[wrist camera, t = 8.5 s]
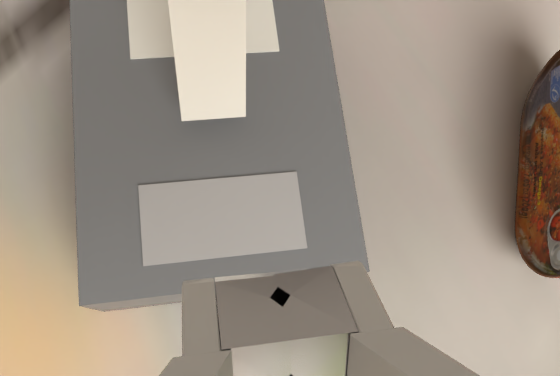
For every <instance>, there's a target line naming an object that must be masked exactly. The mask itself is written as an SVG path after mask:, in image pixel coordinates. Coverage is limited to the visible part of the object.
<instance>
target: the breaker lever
mask: <svg viewBox="0 0 560 376" xmlns="http://www.w3.org/2000/svg"><path fill="white" fill-rule="evenodd" d="M168 5H169V14H170V23H171V32H172V41H173V49H174V58H175V67H176V76H177V85H178V94H179V103H180V112H181V121H192V120H207V119H221V118H235V117H246V0H168Z"/></svg>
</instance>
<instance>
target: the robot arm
mask: <svg viewBox="0 0 560 376" xmlns="http://www.w3.org/2000/svg"><path fill="white" fill-rule="evenodd" d="M214 278H215V285H214V279H213V278H207V279H197V280H186V281H183V284H182V356H181V357H174V358H172V359H171V361H170V362H169V363H168V365H167V366H166V367H165V369H164V370H163V371H162V372H161V374H160V375H159V376H479V375H478V374H476V373H475V372H473V371H472V370H470V369H468V368H467V367H465V366H464V365H462V364H461V363H459V362H457V361H456V360H454V359H453V358H451V357H449V356H448V355H446V354H445V353H443V352H442V351H440V350H438V349H437V348H435V347H434V346H432V345H431V344H429V343H427V342H426V341H424V340H423V339H421V338H420V337H418V336H416V335H415V334H413V333H412V332H410V331H409V330H407V329H405V328H404V327H399V328H394V327H393V324H392V322H391V320H390V318H389V316H388V314H387V312H386V310H385V308H384V306H383V304H382V302H381V300H380V298H379V296H378V294H377V292H376V290H375V288H374V286H373V284H372V282H371V280H370V278H369V276H368V274H367V272H366V269H365V267H364V265H363V264H362V263H361V262H360V261H353V262H345V263H338V264H331V265H330V266H320V267H312V268H304V269H295V270H287V271H279V272H268V273H257V274H246V275H235V276H224V277H214ZM215 291H216V295H215ZM216 302H217V305H216ZM217 313H218V315H217Z"/></svg>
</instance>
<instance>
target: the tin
mask: <svg viewBox="0 0 560 376" xmlns="http://www.w3.org/2000/svg"><path fill="white" fill-rule="evenodd" d="M515 234H516V240H517V245H518V248H519V251H520V254H521V256H522V258H523V260H524V261H525V263H526V264H527V265H528V266H529V268H531V269H532V270H533V271H534V272H536V273H537V274H539V275H542V276H545V277H550V278H560V50H559V51H558V52H557V53H555V54H554V56H553V57H552V58H551V59H550V60H549V61H548V62H547V64H546V65H545V66H544V68H543V69H542V71H541V72H540V74H539V75H538V77H537V78H536V80H535V82H534V84H533V86H532V88H531V90H530V92H529V94H528V96H527V99H526V102H525V105H524V109H523V113H522V118H521V127H520V146H519V164H518V184H517V200H516V218H515Z"/></svg>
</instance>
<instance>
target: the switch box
mask: <svg viewBox="0 0 560 376" xmlns="http://www.w3.org/2000/svg"><path fill="white" fill-rule="evenodd" d="M70 30H71V62H72V95H73V127H74V159H75V192H76V224H77V257H78V289H79V306H82V307H86V308H91V309H95V310H100V311H104V312H105V311H113V310H121V309H129V308H138V307H146V306H154V305H162V304H170V303H179V302H182V284H183V281H186V280H197V279H207V278H213V279H214V285H215V278H214V277H224V276H235V275H246V274H257V273H268V272H279V271H287V270H295V269H304V268H312V267H320V266H330V265H331V264H338V263H345V262H353V261H360V262H361V263H362V264H363V265H364V267H365V269H366V272H369V265H368V259H367V253H366V247H365V241H364V235H363V229H362V223H361V217H360V212H359V206H358V200H357V194H356V188H355V182H354V176H353V170H352V164H351V158H350V152H349V147H348V141H347V135H346V129H345V123H344V117H343V111H342V105H341V99H340V93H339V87H338V82H337V76H336V70H335V64H334V58H333V52H332V46H331V40H330V34H329V28H328V22H327V17H326V11H325V5H324V0H246V117H235V118H221V119H207V120H192V121H181V112H180V103H179V94H178V85H177V76H176V67H175V58H174V49H173V41H172V32H171V23H170V14H169V5H168V0H70ZM215 295H216V291H215Z"/></svg>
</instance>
